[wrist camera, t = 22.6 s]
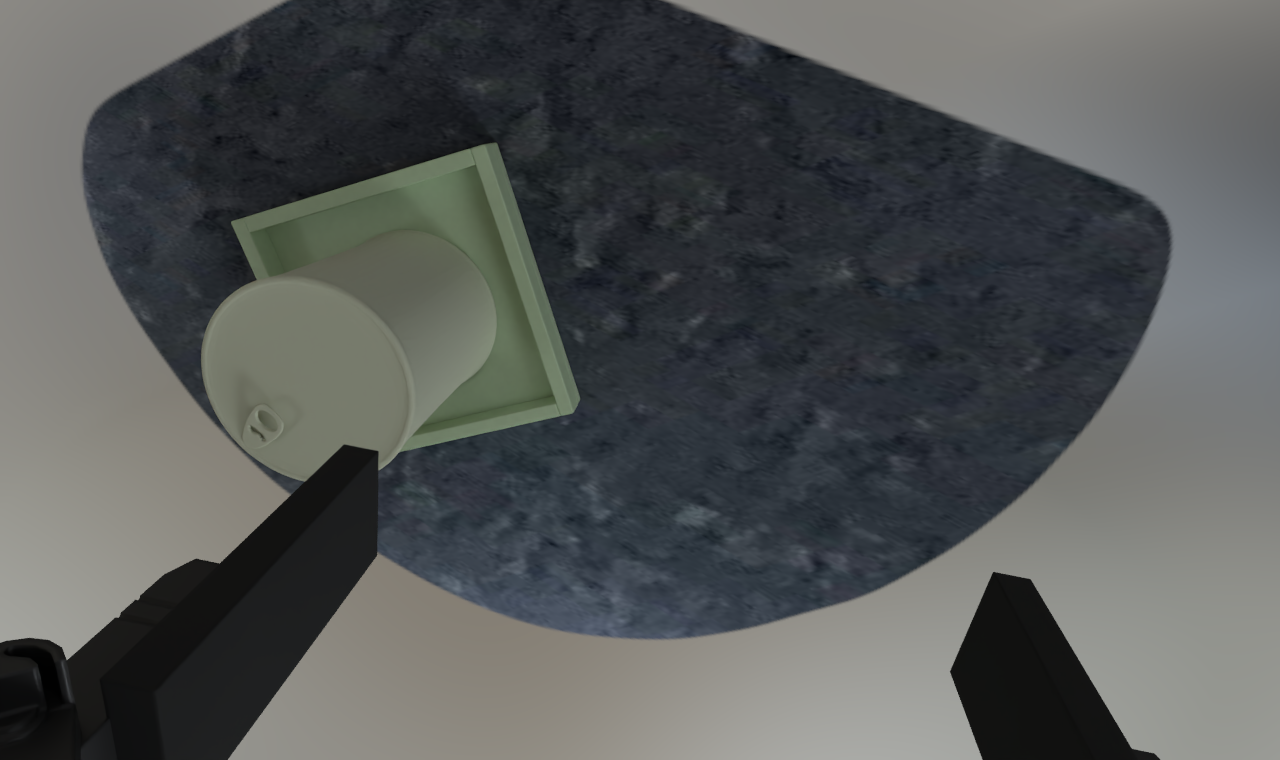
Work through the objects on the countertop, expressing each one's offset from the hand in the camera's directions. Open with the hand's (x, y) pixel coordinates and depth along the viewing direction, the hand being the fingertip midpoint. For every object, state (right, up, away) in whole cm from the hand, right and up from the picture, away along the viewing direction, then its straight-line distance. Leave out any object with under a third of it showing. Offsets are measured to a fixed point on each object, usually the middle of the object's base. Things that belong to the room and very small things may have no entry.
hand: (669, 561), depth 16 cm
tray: (-13, +8, +25) cm, 30 cm away
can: (-13, +8, +25) cm, 29 cm away
